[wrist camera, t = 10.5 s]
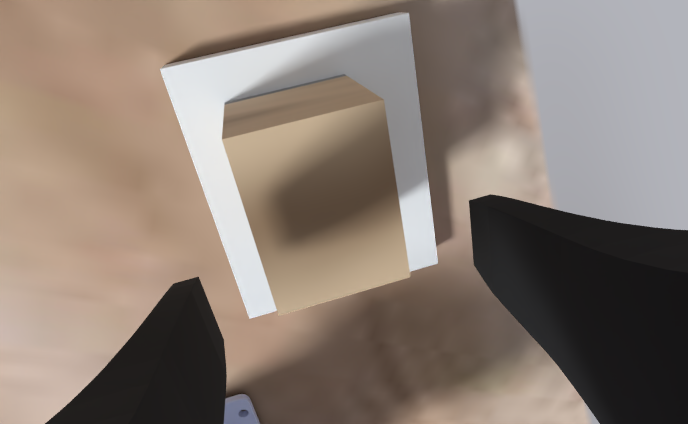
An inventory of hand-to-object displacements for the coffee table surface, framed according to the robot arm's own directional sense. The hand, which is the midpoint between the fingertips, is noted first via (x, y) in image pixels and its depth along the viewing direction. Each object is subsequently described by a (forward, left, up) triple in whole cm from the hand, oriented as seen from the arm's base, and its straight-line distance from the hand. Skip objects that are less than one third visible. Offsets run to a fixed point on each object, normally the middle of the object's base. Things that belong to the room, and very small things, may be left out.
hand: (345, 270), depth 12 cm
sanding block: (+1, 0, -7) cm, 7 cm away
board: (0, -1, -9) cm, 9 cm away
